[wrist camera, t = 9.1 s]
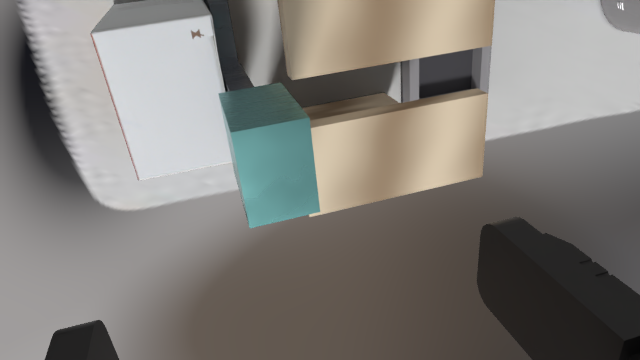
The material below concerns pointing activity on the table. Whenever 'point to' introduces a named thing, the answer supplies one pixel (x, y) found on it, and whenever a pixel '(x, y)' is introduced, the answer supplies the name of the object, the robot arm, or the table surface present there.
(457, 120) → the tunnel
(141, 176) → the small box
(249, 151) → the slider
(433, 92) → the tray
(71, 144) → the table surface
